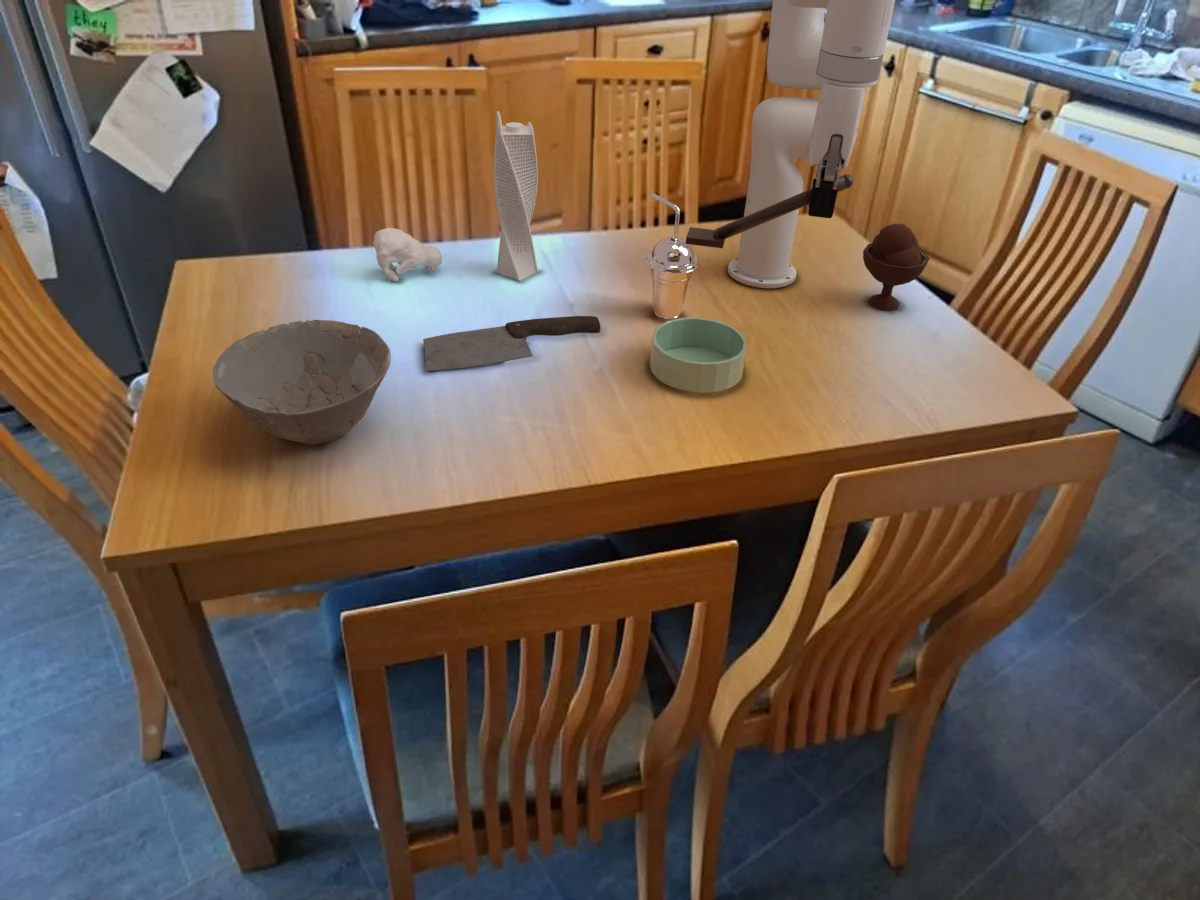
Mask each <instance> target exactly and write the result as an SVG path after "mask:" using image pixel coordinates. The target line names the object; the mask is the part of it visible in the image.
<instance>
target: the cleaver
mask: <svg viewBox="0 0 1200 900" xmlns="http://www.w3.org/2000/svg"><path fill="white" fill-rule="evenodd" d="M600 332H601V322H600V319H599V318H598V317H597V316H594V315H574V316H573V315H572V316H571V315H570V316H558V317H557V316H555V317H543V318H542V317H541V318H532V319H523V320H516V321H509V322H506V323H505V325H502V326H495V327H494V326H493V327H488V328H486V327H485V328H479V329H471V330H465V331H458V332H452V333H446V334H445V333H444V334H440V335H434V336H430V337H426V338H423V339H422V341H423V350H424V357H425V367H426V371H427V372H428V371H429V372H432V371H444V370H457V369H463V368H472V367H480V366H485V365H486V366H487V365H492V364H498V363H504V362H508V361H513V360H517V359H523V358H526V357H531V356H533V353H532V351H531V348H530V346H529V344H528V342H527V338H528V337H530V336H565V335H569V334H570V335H571V334H575V333H590V334H591V333H596V334H597V333H598V334H599V333H600Z"/></svg>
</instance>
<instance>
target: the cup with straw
mask: <svg viewBox="0 0 1200 900" xmlns="http://www.w3.org/2000/svg"><path fill="white" fill-rule="evenodd" d="M650 198H652V199H654V200H655V201H657V202H660V203H662V204H663V205H665V206H667V207H669V208H670V209H673V210H674V212H675V216H674V226H673V235H672V236H669V237H668V236H667V237H665V238H662V239H660V240H659V241H658V242H657V243H656V244H655V245H654V247H653V249H652V250H651V251H650V252H649V253H648V254H647V257H646V260H645V261H646V264H647V266H648V267H650V273H651V278H652V305H653V307H652V308H653V312H654V314H655V315H656V316H657V317H658V318H661V319H665V320H666V319H667V320H673V319H677V318H678V317H680V315H681V313H682V312H683V307H684V302H685V299H686V296H687V295H686V294H687V290H688V286H689V281H690V280H691V277H692V275H693V271H695V270H696V269H697V268H698V266H699V262H698V261H699V259H698V257H697V255H696V254H695V253H694V251H693V248H692V245H691V244H686V239H684V238H681V237H678V236H679V228H680V217H681V210H680V207H679V206H678V205H676V204H675V203H672V202H671V201H669V200H667V199H666V198H663V197H662V196H659V195H658V194H656V193H653V192H652V193H651V195H650Z"/></svg>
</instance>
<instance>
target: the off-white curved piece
mask: <svg viewBox="0 0 1200 900" xmlns="http://www.w3.org/2000/svg"><path fill="white" fill-rule="evenodd" d="M372 245H373V247H374V251H375V255H376V257H375V258H376V260H377V265H378V266H379V268H380V269H381V271H382V272H383V273H384V274H385V276H386V277H387V278H388V279H389V280H392V282H395V283H396V282H398V281H399V276H398V275H401V274H404V273H406V272H407V271H410V270H411V269H416V268H419V267H425V268H426V270H427V272H429V274H432V273H433V272H436V270H437V269H438V267H439V266H440V265H441V264H442V263H443V262H442V261H443V254H442V252H441V250H440V249H439V248H437V247H435V246H431V245H425V243H421V242H420V241H419V240H418V239H417V238H414V237H413V236H412V235H411V234H409V233H406V232H405V231H403V230H401V229H400V228H393V227H390V228H389V227H385V228H382V229H380V230H377V231H376V232H375V234H374V236H373V242H372ZM396 263H397V265H399V266H397V267H395V266H394V264H396Z"/></svg>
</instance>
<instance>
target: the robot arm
mask: <svg viewBox="0 0 1200 900" xmlns="http://www.w3.org/2000/svg"><path fill="white" fill-rule="evenodd" d="M895 3H896V0H772V7H771V16H770V26H769V33H768V34H769V35H768V46H767V55H766V75H767V79H768V80H769V83H770V84H772V85H773V86H776V87H779V88H784V89H785V88H786V89H795V90H808V91H809V90H810V91H811V90H812V91H820V92H819V97H818V98H810V97H798V96H797V97H796V96H775V97H770V98H767V99H764V100H762V101H761V102H760V103H759V104H758V105H757V106H756V107H755V109H754V111H753V114H752V119H751V154H750V155H751V158H750V170H749V179H748V183H747V184H748V185H747V192H746V200H745V207H744V212H743V217H745V216H748V215H750V214H752V213H755V212H757V211H759V210H762V209H764V208H767V207H769V206H771V205H774V204H776V203H778V202H781V201H783V200H786V199H788V198H790V197H793V196H795V195H797V194H800V193H802V192H804V180H803V176H802V174H801V172H800V171H799V169H798V168H797V166H796V164H795V163H794V161H793V160H796V159H798V160H799V159H800V160H802V159H805V160H806V159H808V164H809V165H810V166H811V167H814V165H817V167H816V172H815V178H813V179H812V185H811V186H812V187H811V189H812V188H813V189H812V194H811V200H810V204H809V205H808V211H807V215H808V216H809V217H814V218H823V219H831V218H833V217H834V211H835V206H836V202H837V197H838V193H839V192H838V188H837V185H838V180H839V177H840V176H841V175H840V174H841V170H844V169H847V168H848V166H849V162H850V159H851V156H852V152H853V150H854V147H855V145H856V141H857V136H858V129H859V124H860V119H861V115H862V110H863V106H864V102H865V101H864V100H865V97H866V93H867V88H870V87H874V86H876V85H878V83H879V78H880V73H881V69H882V64H883V60H884V54H885V50H886V47H887V46H886V45H887V41H888V36H889V32H890V28H891V23H892V18H893V14H894V9H895ZM837 192H838V193H837ZM800 209H801V208H799V209H797V210H795V211H792V212H790V213H787V214H785V215H782V216H780V217H778V218H775V219H773V220H770V221H768V222H766V223H763V224H761V225H758V226H756V227H753V228H751V229H749V230H746V231H744V232H741V233H740V241H739V249H738V256H737V257H734V258H733V259H732V260H730V261H729V263H728V266H727V273H728V275H729V276H730V277H731V278H732V279H734V280H735V281H737V282H738V283H740V284H742V285H745V286H748V287H753V288H758V289H781V288H785V287H787V286H790V285H791V284H793V283H794V282H795V280H796V278H797V269H796V268H795V266H794V265H793V264H791V259H792V254H793V248H794V242H795V236H796V230H797V227H798V226H797V225H798V220H799V214H800Z"/></svg>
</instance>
